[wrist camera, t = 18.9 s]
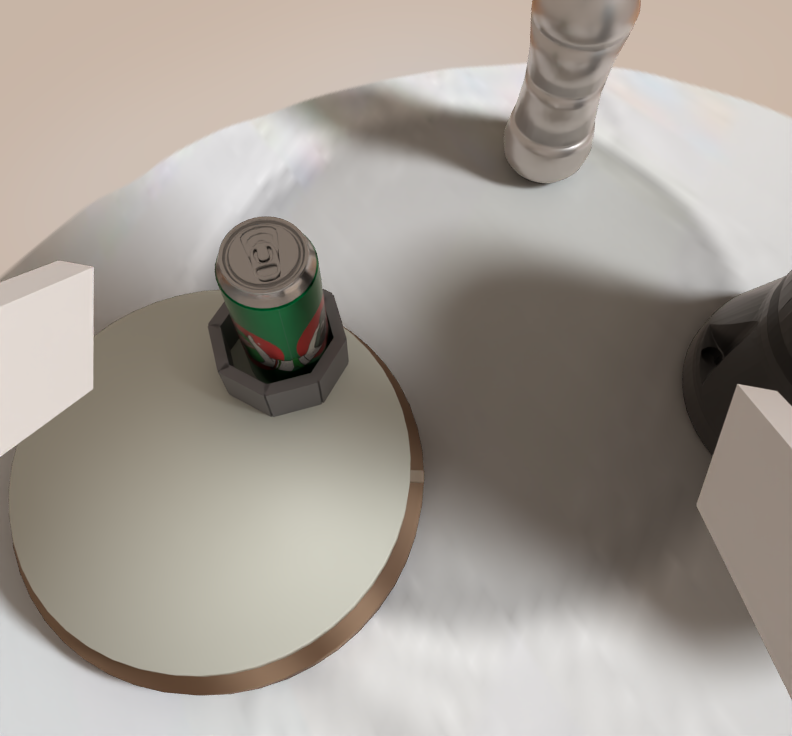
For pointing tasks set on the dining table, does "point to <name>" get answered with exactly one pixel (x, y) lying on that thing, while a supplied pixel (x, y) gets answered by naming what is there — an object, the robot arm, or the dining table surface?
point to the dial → (210, 494)
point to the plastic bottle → (564, 84)
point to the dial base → (311, 652)
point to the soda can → (274, 297)
